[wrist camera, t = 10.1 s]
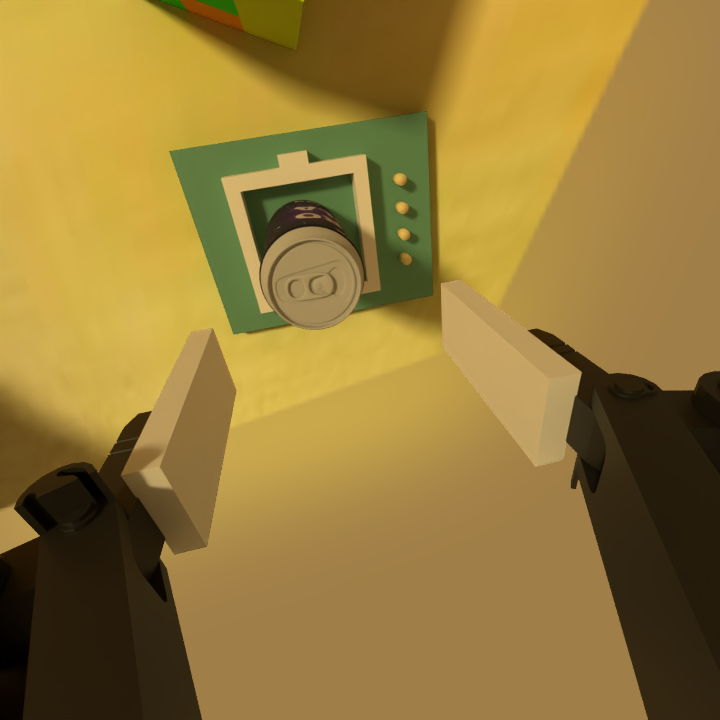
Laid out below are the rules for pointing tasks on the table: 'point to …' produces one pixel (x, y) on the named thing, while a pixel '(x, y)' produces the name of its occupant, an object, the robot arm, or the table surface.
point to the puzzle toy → (252, 16)
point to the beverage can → (310, 267)
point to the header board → (322, 185)
